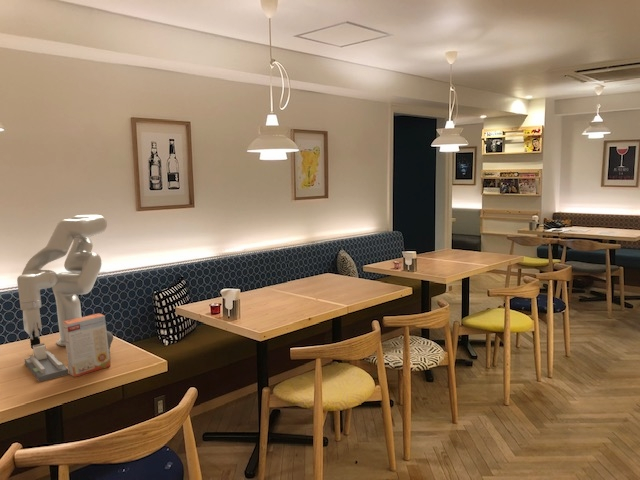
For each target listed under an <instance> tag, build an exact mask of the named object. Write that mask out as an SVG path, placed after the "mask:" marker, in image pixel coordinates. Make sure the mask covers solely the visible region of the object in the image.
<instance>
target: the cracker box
mask: <svg viewBox="0 0 640 480" xmlns="http://www.w3.org/2000/svg"><path fill="white" fill-rule="evenodd" d="M63 328H64V336H65V344H66V346H65V350H66V358H67V365H68V368H67V369H68V374H70V376H72V377H73V378H76V377H79V376H82V375H86V374H89V373H93V372H96V371H100V370H102V369H106V368H109V367H111V361H110V360H111V358H110V357H111V356H110V353H109V348H108V339H107V331H108V330H107V324H106V316H105V315H104V314H103V313H94V314H89V315H86V316H82V317H81V318H76V319H72V320H67V321H63Z"/></svg>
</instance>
